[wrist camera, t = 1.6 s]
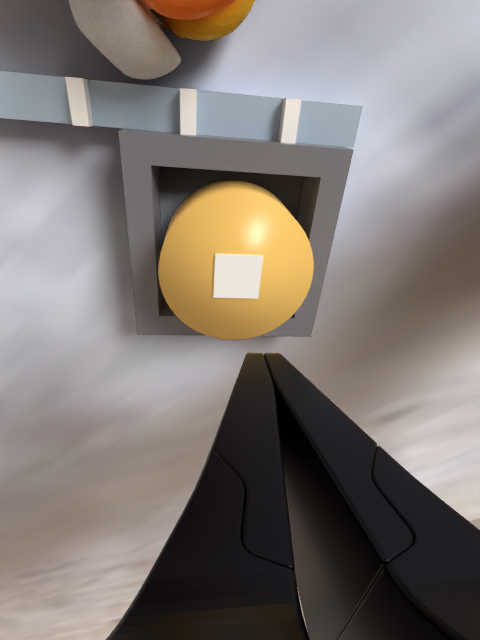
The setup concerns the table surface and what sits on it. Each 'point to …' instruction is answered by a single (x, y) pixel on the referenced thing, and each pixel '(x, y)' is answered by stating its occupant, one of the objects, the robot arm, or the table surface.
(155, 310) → the dome housing
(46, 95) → the rail
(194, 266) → the dome
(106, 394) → the table surface
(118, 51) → the multicoloured petal shapes
